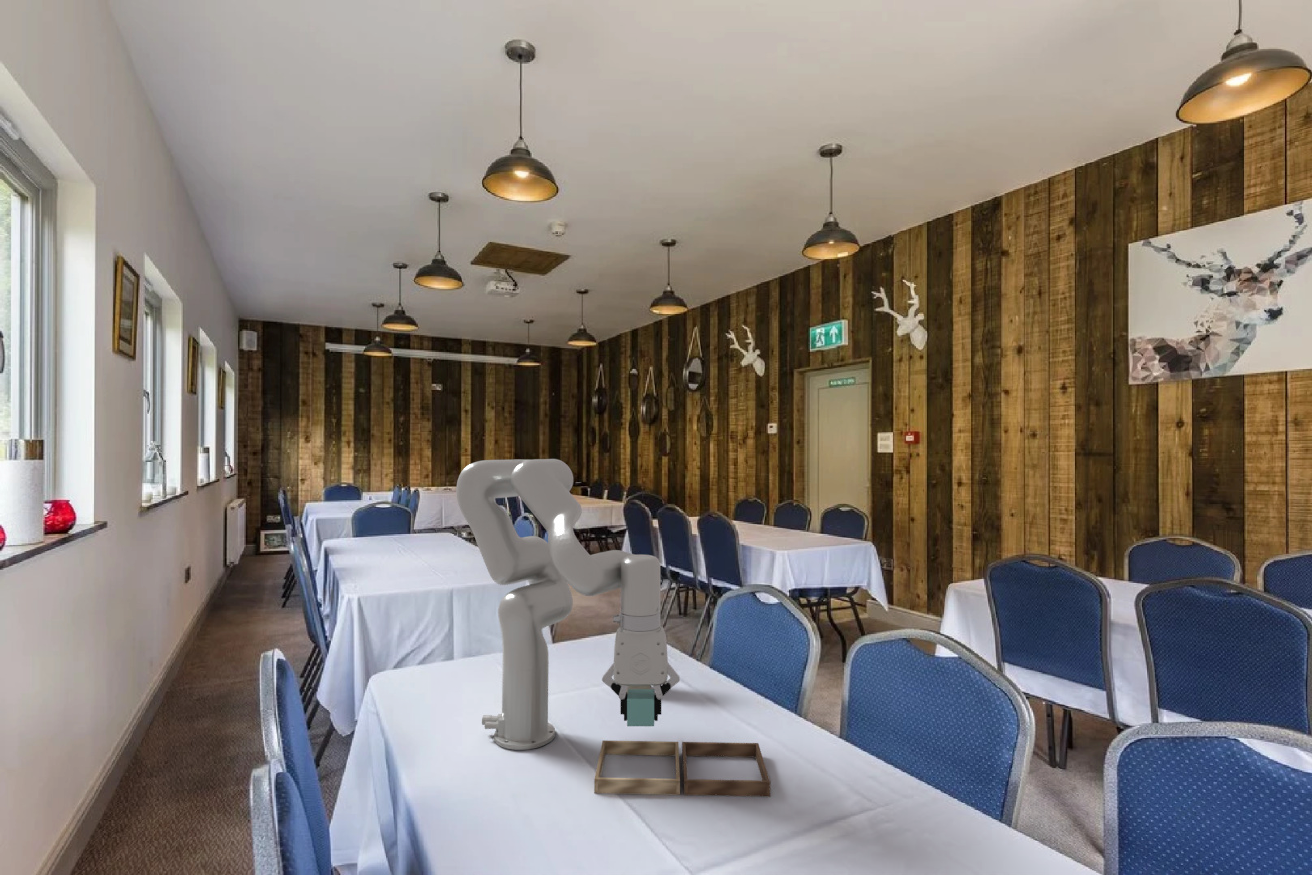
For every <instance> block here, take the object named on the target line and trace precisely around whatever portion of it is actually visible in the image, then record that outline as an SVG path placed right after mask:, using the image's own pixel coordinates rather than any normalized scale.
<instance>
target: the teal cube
mask: <svg viewBox="0 0 1312 875" xmlns="http://www.w3.org/2000/svg"><path fill="white" fill-rule="evenodd" d="M654 695H655V690H654V688H651V689H628V696H627V721H626V726H627V727H655V720H654Z"/></svg>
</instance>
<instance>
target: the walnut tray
mask: <svg viewBox="0 0 1312 875" xmlns="http://www.w3.org/2000/svg"><path fill="white" fill-rule="evenodd" d="M681 748H682V749H681V756H682V757H681V758H682V759H681V760H682V776H683V777H682V779H683V795H684V796H719V797H720V796H721V797H722V796H726V797H727V796H728V797H729V796H730V797H771V781H770V776H769V774H768V771H767V768H766V764H765V762H764V761H765V760H764V757H763V754H762V750H761V747H760V744H759V742H722V741H720V742H717V741H715V742H713V741H711V742H710V741H709V742H708V741H682V743H681ZM689 756H690V757H730V758H731V757H732V758H733V757H735V758H737V757H738V758H740V757H741V758H745V757H746V758H755V760H756V763H757V767H758V771H759V774H760V777H761V780H759V779H758V780H756V779H755V780H754V779H753V780H751V779H702V778H701V779H699V778H697V779H696V778H694V779H693V778H688V765H687V764H688V763H687V757H689Z"/></svg>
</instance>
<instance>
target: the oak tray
mask: <svg viewBox="0 0 1312 875" xmlns="http://www.w3.org/2000/svg"><path fill="white" fill-rule="evenodd" d="M606 755H611V756H612V755H620V756H623V755H625V756H673V757H674V758H675V759H674V760H675V763H674V764H675V765H674V766H675V778H651V777H650V778H649V777H648V778H646V777H645V778H642V777H602V772H603V768H604V762H605V757H606ZM595 769H596V771H595V775H594V778H593V779H594V780H593V785H594V787H593V793H594V794H609V795H613V794H615V795H616V794H617V795H619V794H621V795H669V796H670V795H673V796H675V795H676V796H677V795H678V796H680V795H681V792H680V790H681V777H680V776H681V775H680V751H679V741H656V740H655V741H651V740H649V741H648V740H608V739H607V740H603V739H602V743H601V746H600V751H599V756H598V760H597V764H596V768H595Z"/></svg>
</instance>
